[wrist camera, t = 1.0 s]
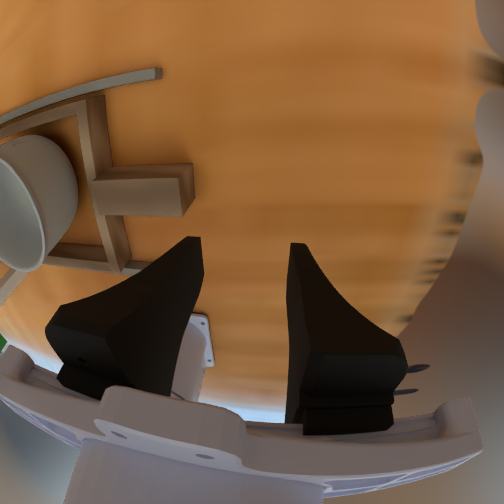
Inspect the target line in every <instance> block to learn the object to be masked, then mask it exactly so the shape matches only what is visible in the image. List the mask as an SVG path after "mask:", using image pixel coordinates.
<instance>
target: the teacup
mask: <svg viewBox="0 0 504 504" xmlns="http://www.w3.org/2000/svg"><path fill="white" fill-rule="evenodd" d="M77 207H78V184H77V179H76V176H75V173H74V169H73V167H72V165H71V163H70V161H69V159H68V157H67V156H66V154H65V153H64V152H63V151H62V149H61V148H60V147H59V146H58V145H57V144H56V143H54V142H53V141H52V140H50V139H48V138H46V137H44V136H40V135H25V136H21V137H18V138H15V139H13V140H10V141H8V142H6V143H4V144H2V145H0V263H1V262H4V263H5V264H6V265H8V266H9V267H11V268H13V269H15V270H18V271H22V272H31V271H34V270H36V269H38V268H39V267H40V266H41V264H42V263H43V261H44V260H45V257H46V256H47V255H48V254H49V252H50V251H51V250H52V249H53V248H54V246H55V245H56V244H57V243H58V242H59V240H60V239H61V238H62V236H63V235H64V234H65V233H66V231H67V230H68V228H69V227H70V225H71V224H72V222H73V219H74V217H75V214H76V211H77Z"/></svg>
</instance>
